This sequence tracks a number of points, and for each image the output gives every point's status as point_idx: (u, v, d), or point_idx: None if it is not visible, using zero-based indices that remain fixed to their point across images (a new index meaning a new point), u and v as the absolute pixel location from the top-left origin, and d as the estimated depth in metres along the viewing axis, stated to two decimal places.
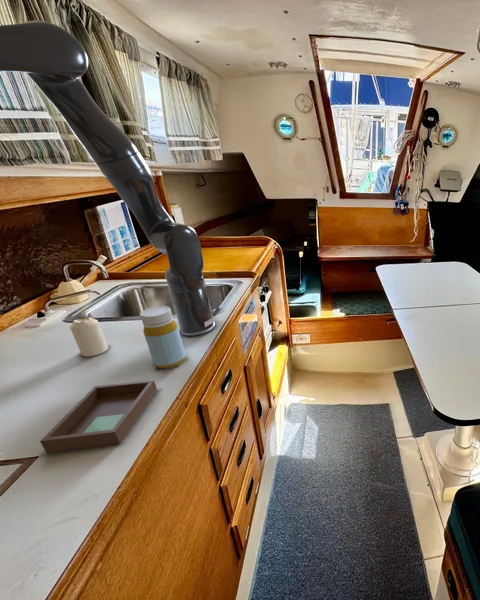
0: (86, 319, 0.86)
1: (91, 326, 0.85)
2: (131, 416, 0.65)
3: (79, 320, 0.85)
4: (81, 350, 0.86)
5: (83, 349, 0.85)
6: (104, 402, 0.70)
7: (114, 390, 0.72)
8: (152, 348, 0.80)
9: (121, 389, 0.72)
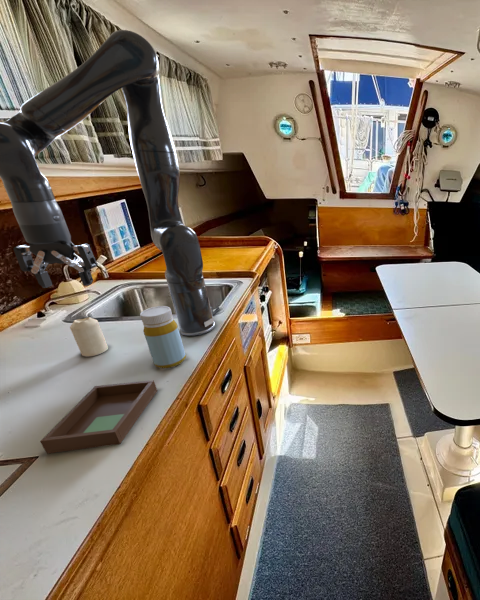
0: (86, 319, 0.86)
1: (91, 326, 0.85)
2: (131, 416, 0.65)
3: (79, 320, 0.85)
4: (81, 350, 0.86)
5: (83, 349, 0.85)
6: (104, 402, 0.70)
7: (114, 390, 0.72)
8: (152, 348, 0.80)
9: (121, 389, 0.72)
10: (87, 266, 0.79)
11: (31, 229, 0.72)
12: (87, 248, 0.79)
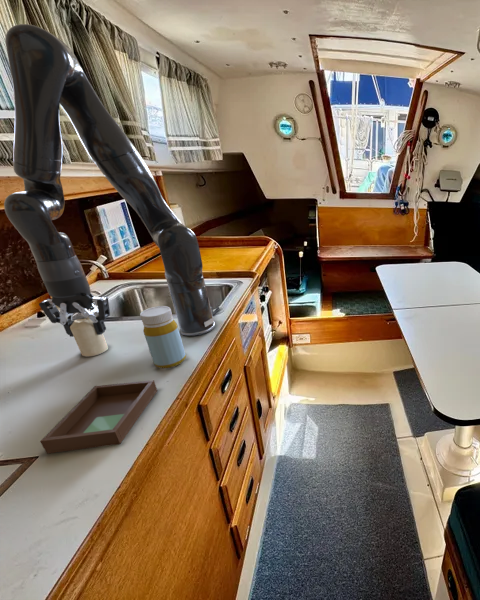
0: (86, 319, 0.86)
1: (91, 326, 0.85)
2: (131, 416, 0.65)
3: (79, 320, 0.85)
4: (81, 350, 0.86)
5: (83, 349, 0.85)
6: (104, 402, 0.70)
7: (114, 390, 0.72)
8: (152, 348, 0.80)
9: (121, 389, 0.72)
10: (101, 317, 0.85)
11: (55, 285, 0.77)
12: (105, 301, 0.85)
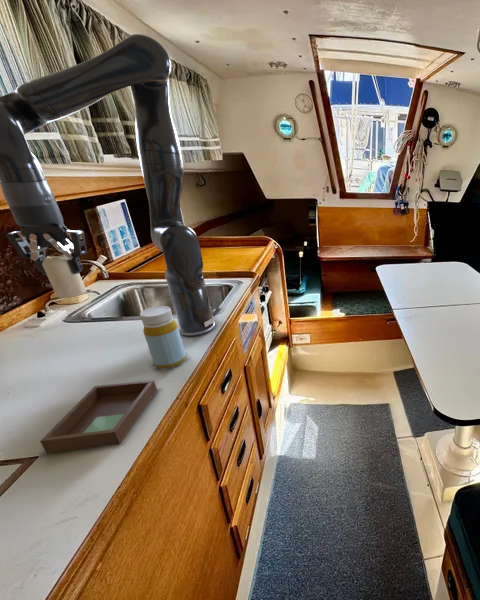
0: (60, 256, 0.78)
1: (65, 263, 0.77)
2: (131, 416, 0.65)
3: (53, 257, 0.78)
4: (55, 290, 0.78)
5: (57, 289, 0.78)
6: (104, 402, 0.70)
7: (114, 390, 0.72)
8: (152, 348, 0.80)
9: (121, 389, 0.72)
10: (76, 253, 0.77)
11: (22, 211, 0.70)
12: (81, 235, 0.77)
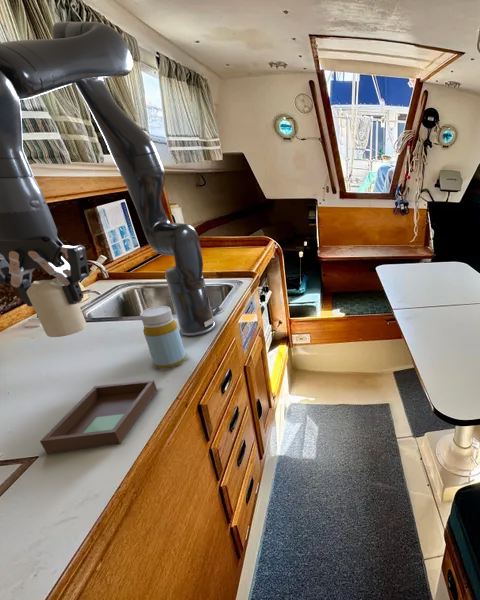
0: (53, 281, 0.57)
1: (59, 291, 0.56)
2: (131, 416, 0.65)
3: (42, 282, 0.57)
4: (45, 327, 0.57)
5: (47, 325, 0.57)
6: (104, 402, 0.70)
7: (114, 390, 0.72)
8: (152, 348, 0.80)
9: (121, 389, 0.72)
10: (74, 277, 0.56)
11: None
12: (81, 252, 0.56)
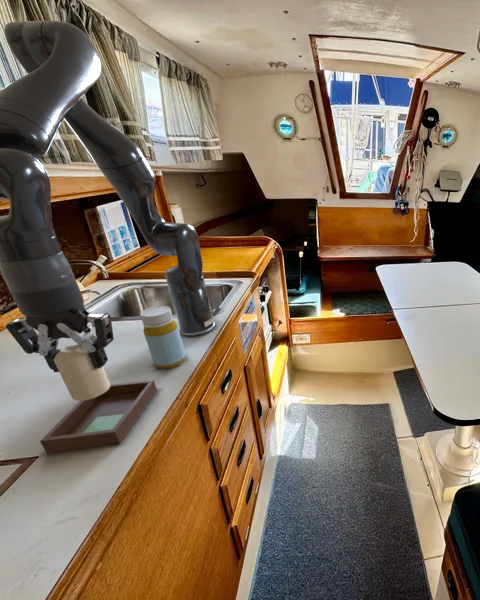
0: (78, 346, 0.58)
1: (85, 357, 0.57)
2: (131, 416, 0.65)
3: (68, 348, 0.58)
4: (71, 392, 0.58)
5: (74, 390, 0.58)
6: (104, 402, 0.70)
7: (114, 390, 0.72)
8: (152, 348, 0.80)
9: (121, 389, 0.72)
10: (100, 344, 0.57)
11: (28, 298, 0.50)
12: (107, 320, 0.57)
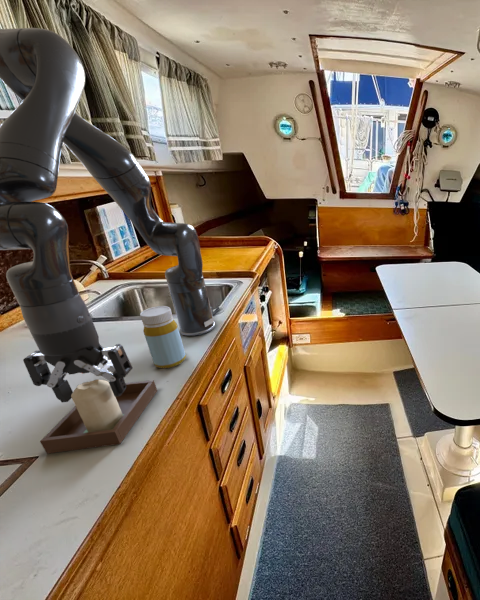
0: (94, 382, 0.62)
1: (101, 393, 0.60)
2: (131, 416, 0.65)
3: (84, 384, 0.61)
4: (87, 426, 0.61)
5: (90, 424, 0.61)
6: None
7: None
8: (152, 348, 0.80)
9: None
10: (120, 374, 0.60)
11: (48, 339, 0.53)
12: (120, 351, 0.60)
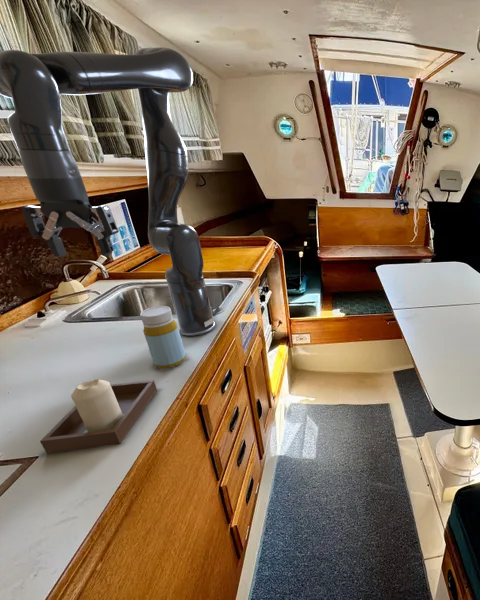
0: (94, 382, 0.62)
1: (101, 393, 0.60)
2: (131, 416, 0.65)
3: (84, 384, 0.61)
4: (87, 426, 0.61)
5: (90, 424, 0.61)
6: None
7: (114, 390, 0.72)
8: (152, 348, 0.80)
9: (121, 389, 0.72)
10: (107, 231, 0.68)
11: (43, 184, 0.61)
12: (107, 210, 0.68)
